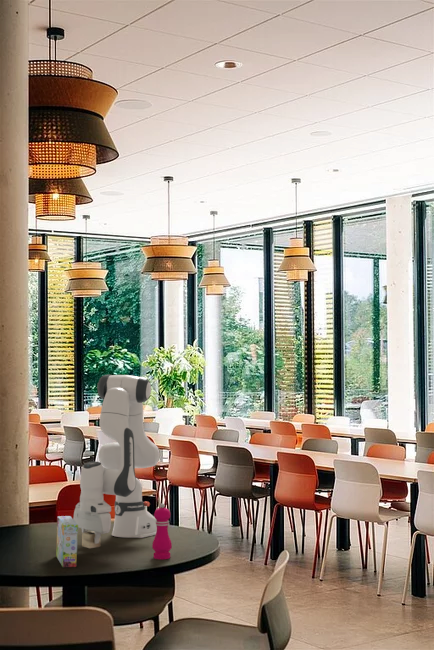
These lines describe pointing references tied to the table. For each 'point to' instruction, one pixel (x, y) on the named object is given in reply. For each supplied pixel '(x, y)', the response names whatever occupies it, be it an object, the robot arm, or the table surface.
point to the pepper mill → (162, 534)
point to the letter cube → (89, 540)
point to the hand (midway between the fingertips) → (91, 541)
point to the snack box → (67, 541)
